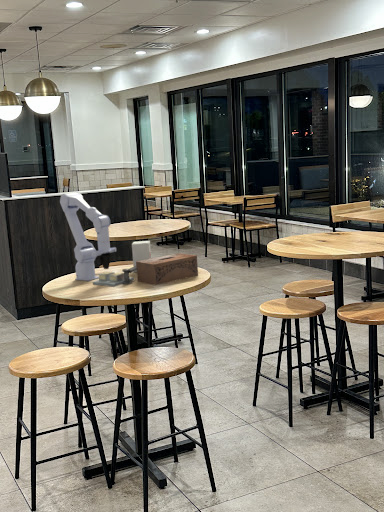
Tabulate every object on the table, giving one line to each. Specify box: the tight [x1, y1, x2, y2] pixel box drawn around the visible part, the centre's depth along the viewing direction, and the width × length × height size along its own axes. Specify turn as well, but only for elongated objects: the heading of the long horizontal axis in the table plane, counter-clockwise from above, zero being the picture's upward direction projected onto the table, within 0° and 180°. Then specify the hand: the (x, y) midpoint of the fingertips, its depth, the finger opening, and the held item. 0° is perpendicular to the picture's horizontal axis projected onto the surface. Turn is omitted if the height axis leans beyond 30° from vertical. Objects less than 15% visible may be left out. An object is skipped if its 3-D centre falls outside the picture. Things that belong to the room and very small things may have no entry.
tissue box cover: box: [136, 252, 199, 286], centre depth 307 cm, size 26×14×10 cm, turn 129°
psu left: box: [98, 271, 116, 281], centre depth 309 cm, size 5×6×3 cm
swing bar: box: [121, 266, 137, 274], centre depth 308 cm, size 18×4×2 cm, turn 159°
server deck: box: [92, 272, 135, 287], centre depth 306 cm, size 18×14×6 cm
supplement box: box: [131, 240, 152, 273], centre depth 331 cm, size 9×9×15 cm
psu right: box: [109, 272, 124, 282], centre depth 305 cm, size 5×6×3 cm
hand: (106, 268), depth 309 cm, fingers closed
